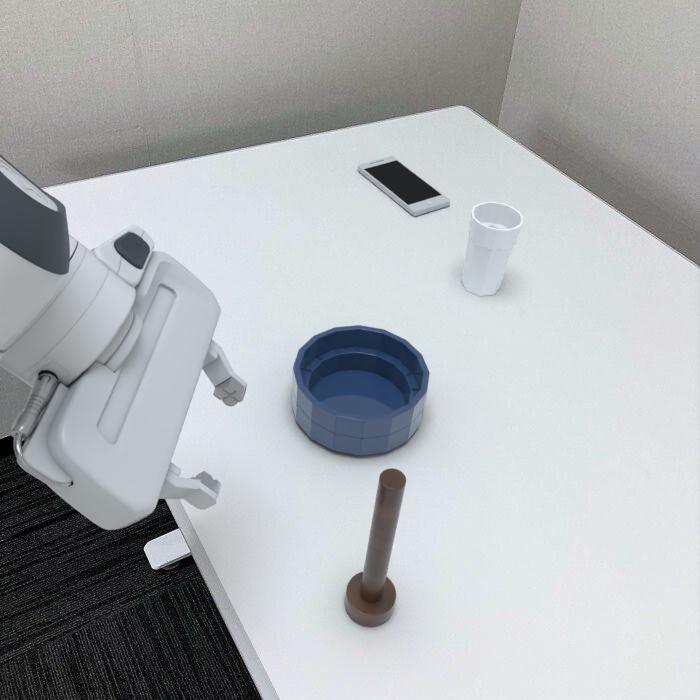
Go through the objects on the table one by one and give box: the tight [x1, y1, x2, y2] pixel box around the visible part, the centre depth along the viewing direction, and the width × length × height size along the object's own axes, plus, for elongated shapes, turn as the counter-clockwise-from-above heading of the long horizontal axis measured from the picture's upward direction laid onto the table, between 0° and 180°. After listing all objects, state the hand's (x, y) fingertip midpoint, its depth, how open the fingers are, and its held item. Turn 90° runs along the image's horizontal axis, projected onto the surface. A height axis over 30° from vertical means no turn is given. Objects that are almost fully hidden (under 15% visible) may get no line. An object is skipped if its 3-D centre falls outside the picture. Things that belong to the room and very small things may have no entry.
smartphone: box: [357, 155, 451, 217], centre depth 122 cm, size 7×15×1 cm, turn 34°
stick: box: [344, 467, 407, 628], centre depth 63 cm, size 4×4×18 cm
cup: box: [461, 201, 524, 297], centre depth 102 cm, size 7×7×11 cm
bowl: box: [291, 324, 431, 456], centre depth 85 cm, size 14×14×6 cm
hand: (227, 444), depth 55 cm, fingers open, 8 cm apart
